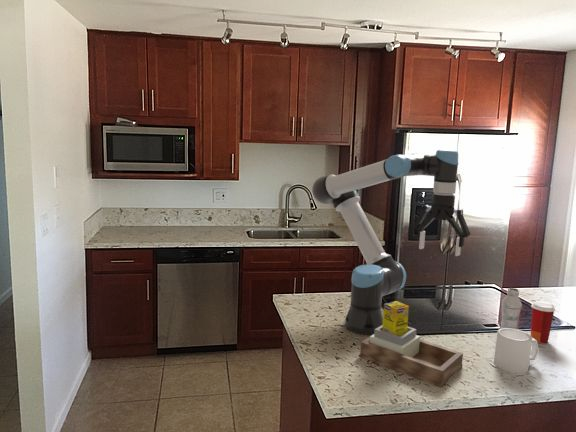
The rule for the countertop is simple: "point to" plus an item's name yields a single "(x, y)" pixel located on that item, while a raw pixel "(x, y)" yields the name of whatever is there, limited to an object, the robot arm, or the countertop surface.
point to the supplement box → (395, 318)
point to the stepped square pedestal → (397, 341)
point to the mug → (514, 350)
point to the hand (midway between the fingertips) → (439, 252)
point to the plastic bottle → (511, 309)
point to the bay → (417, 361)
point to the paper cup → (541, 321)
